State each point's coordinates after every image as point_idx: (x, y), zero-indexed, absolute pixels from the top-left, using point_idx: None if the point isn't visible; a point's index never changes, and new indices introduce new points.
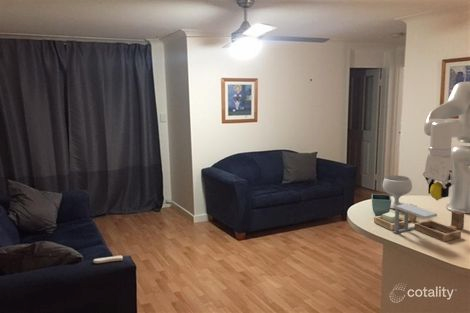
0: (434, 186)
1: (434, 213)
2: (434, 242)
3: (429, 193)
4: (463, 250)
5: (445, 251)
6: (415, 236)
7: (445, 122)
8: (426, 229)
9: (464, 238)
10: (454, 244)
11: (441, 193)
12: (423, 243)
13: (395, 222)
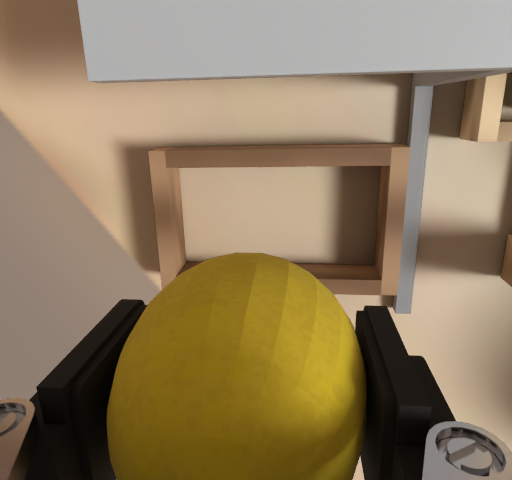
0: (208, 353)
1: (101, 58)
2: (182, 85)
3: (364, 307)
4: (39, 140)
5: (57, 33)
6: None
7: None
8: (298, 147)
9: (159, 281)
10: (117, 166)
11: (125, 328)
12: None
13: None
